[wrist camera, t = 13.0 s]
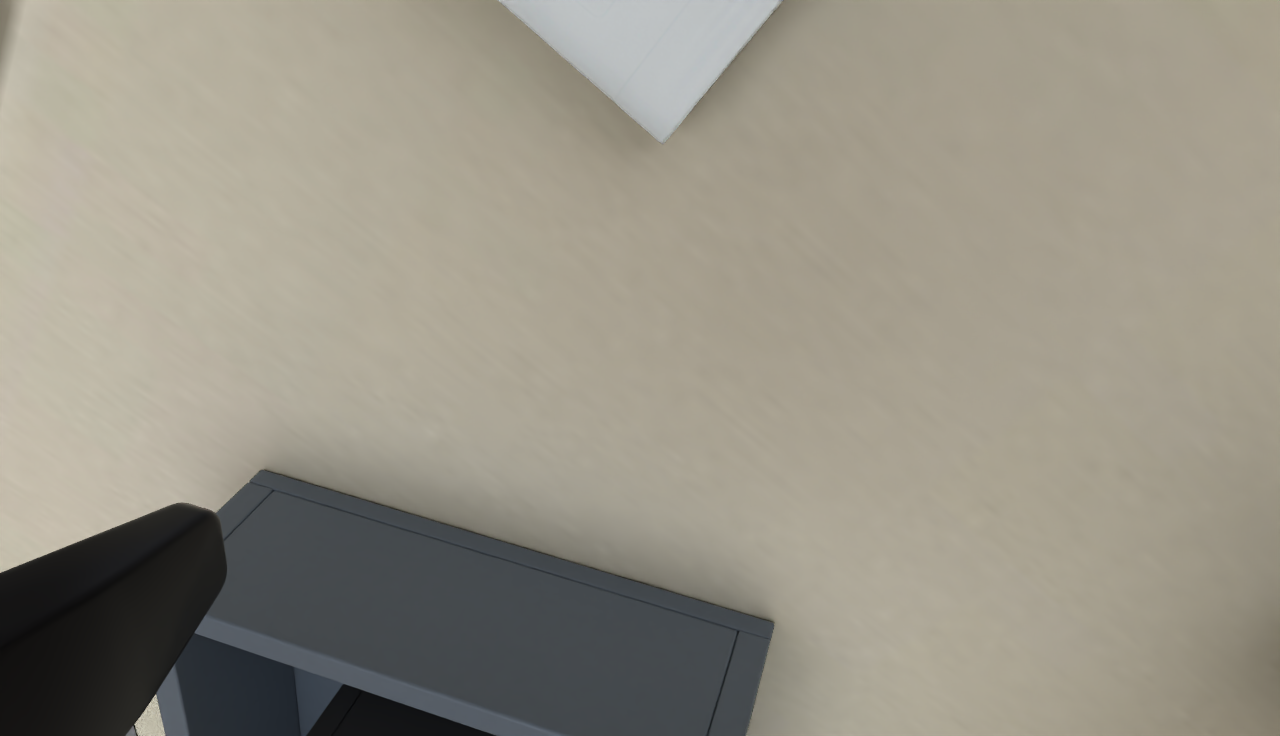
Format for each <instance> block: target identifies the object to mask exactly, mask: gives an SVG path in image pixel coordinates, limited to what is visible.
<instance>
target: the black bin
mask: <svg viewBox="0 0 1280 736" xmlns="http://www.w3.org/2000/svg"><path fill="white" fill-rule="evenodd" d="M306 736H496V735H493V734H490V733H487V732H484V731H481V730H478V729H475V728H473V727H470V726H467V725H464V724H461V723H458V722H455V721H452V720H449V719H446V718H443V717H440V716H437V715H434V714H431V713H428V712H425V711H422V710H419V709H417V708H414V707H411V706H408V705H405V704H402V703H399V702H396V701H393V700H390V699H387V698H384V697H381V696H378V695H375V694H372V693H369V692H366V691H363V690H361V689H358V688H355V687H352V686H349V685H346V684H343V685H342V686H341V687H340V689H339V690H338V692H337V693H336V694H335V696H334V697H333V699H332V700H331V701H330V703H329V704H328V706H327V707H326V708H325V710H324V711H323V713H322V714H321V716H320V717H319V718H318V720H317V721H316V723H315V724H314V725H313V727H312V728H311V730H310V731H309V732H308V734H307V735H306Z"/></svg>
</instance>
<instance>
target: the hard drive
mask: <svg viewBox="0 0 1280 736" xmlns="http://www.w3.org/2000/svg"><path fill="white" fill-rule="evenodd" d="M498 1H499V2H500V3H501V4H502V5H504V6H505V7H506V8H507V9H508V10H509V11H511V12H512V13H513V14H514V15H515V16H516V17H518V18H519V19H520V20H521V21H522V22H523V23H525V24H526V25H527V26H528V27H529V28H530V29H531V30H533V31H534V32H535V33H536V34H537V35H538V36H539V37H540V38H541V39H543V40H544V41H545V42H546V43H547V44H548V45H549V46H550V47H551V48H553V49H554V50H555V51H556V52H557V53H558V54H559V55H561V56H562V57H563V58H564V59H565V60H566V61H568V62H569V63H570V64H571V65H572V66H573V67H574V68H575V69H576V70H578V71H579V72H580V73H581V74H582V75H583V76H585V77H586V78H587V79H588V80H589V81H591V82H592V83H593V84H594V85H595V86H596V87H597V88H598V89H600V90H601V91H602V92H603V93H604V94H605V95H606V96H608V97H609V98H610V99H611V100H612V101H613V102H614V103H616V104H617V105H618V106H619V107H620V108H621V109H622V110H623V111H624V112H625V113H627V114H628V115H629V116H630V117H631V118H632V119H633V120H634V121H635V122H637V123H638V124H639V125H640V126H641V127H643V128H644V129H645V130H646V131H647V132H648V133H650V134H651V135H652V136H653V137H654V138H655V139H656V140H657V141H658V142H660V143H662V144H664V143H665V142H666V141H667V139H668V138H669V137H670V136H671V135H672V133H673V132H674V131H675V130H676V128H677V127H678V126H679V125H680V124H681V122H682V121H683V120H684V119H685V118H686V116H687V115H688V114H689V113H690V112H691V110H692V109H693V108H694V107H695V106H696V104H697V103H698V102H699V101H700V100H701V98H702V97H703V96H704V95H705V94H706V92H707V91H708V90H709V89H710V88H711V86H712V85H713V84H714V83H715V82H716V80H717V79H718V78H719V77H720V76H721V74H722V73H723V72H724V71H725V70H726V68H727V67H728V66H729V65H730V64H731V63H732V61H733V60H734V59H735V58H736V57H737V55H738V54H739V53H740V52H741V51H742V49H743V48H744V47H745V46H746V45H747V44H748V42H749V41H750V40H751V39H752V37H753V36H754V35H755V34H756V32H757V31H758V30H759V29H760V28H761V26H762V25H763V24H764V23H765V22H766V21H767V19H768V18H769V17H770V16H771V15H772V13H773V12H774V11H775V10H776V9H777V8H778V6H779V5H780V4H781V3H782V2H783V0H498Z"/></svg>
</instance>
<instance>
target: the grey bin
mask: <svg viewBox="0 0 1280 736" xmlns="http://www.w3.org/2000/svg"><path fill="white" fill-rule="evenodd" d="M216 514H217V516H218V517H219V519H220V522H221V527H222V534H223V540H224V547H225V554H226V560H227V576H226V580H225V583H224V585H223V587H222V589H221V591H220V593H219V595H218V596H217V598H216V599H215V601H214V603H213V604H212V606H211V607H210V609H209V610H208V612H207V614H206V615H205V617H204V618H203V620H202V622H201V623H200V625H199V626H198V628H197V629H196V631H195V633H194V634H193V636H192V637H191V639H190V640H189V642H188V644H187V645H186V647H185V648H184V650H183V652H182V653H181V655H180V656H179V658H178V659H177V661H176V663H175V664H174V666H173V667H172V669H171V671H170V672H169V674H168V675H167V677H166V678H165V680H164V682H163V683H162V685H161V686H160V688H159V689H158V691H157V693H156V695H157V700H158V704H159V709H160V713H161V717H162V722H163V726H164V731H165V735H166V736H306V735H307V734H308V732H309V731H310V730H311V728H312V727H313V725H314V724H315V723H316V721H317V720H318V718H319V717H320V716H321V714H322V713H323V711H324V710H325V708H326V707H327V706H328V704H329V703H330V701H331V700H332V699H333V697H334V696H335V694H336V693H337V692H338V690H339V689H340V687H341V686H342V685H343V684H346V685H349V686H352V687H355V688H358V689H361V690H363V691H366V692H369V693H372V694H375V695H378V696H381V697H384V698H387V699H390V700H393V701H396V702H399V703H402V704H405V705H408V706H411V707H414V708H417V709H419V710H422V711H425V712H428V713H431V714H434V715H437V716H440V717H443V718H446V719H449V720H452V721H455V722H458V723H461V724H464V725H467V726H470V727H473V728H475V729H478V730H481V731H484V732H487V733H490V734H493V735H496V736H746V735H747V731H748V727H749V723H750V719H751V715H752V711H753V707H754V703H755V700H756V696H757V692H758V688H759V684H760V680H761V676H762V672H763V668H764V664H765V660H766V656H767V652H768V648H769V645H770V641H771V637H772V633H773V629H774V623H772V622H769V621H766V620H763V619H759V618H756V617H753V616H749V615H746V614H743V613H739V612H736V611H733V610H729V609H726V608H723V607H719V606H716V605H713V604H709V603H706V602H703V601H699V600H696V599H693V598H689V597H686V596H683V595H679V594H676V593H673V592H669V591H666V590H663V589H659V588H656V587H653V586H649V585H646V584H642V583H639V582H636V581H632V580H629V579H626V578H622V577H619V576H616V575H612V574H609V573H606V572H602V571H599V570H596V569H592V568H589V567H586V566H582V565H579V564H576V563H572V562H569V561H566V560H562V559H559V558H556V557H552V556H549V555H546V554H542V553H539V552H536V551H532V550H529V549H526V548H522V547H519V546H516V545H512V544H509V543H506V542H502V541H499V540H496V539H492V538H489V537H485V536H482V535H479V534H475V533H472V532H469V531H465V530H462V529H459V528H455V527H452V526H449V525H445V524H442V523H439V522H435V521H432V520H429V519H425V518H422V517H419V516H415V515H412V514H409V513H405V512H402V511H399V510H395V509H392V508H389V507H385V506H382V505H379V504H375V503H372V502H369V501H365V500H362V499H359V498H355V497H352V496H349V495H345V494H342V493H339V492H335V491H332V490H328V489H325V488H322V487H318V486H315V485H312V484H308V483H305V482H302V481H298V480H295V479H292V478H288V477H285V476H282V475H278V474H275V473H272V472H268V471H265V470H260V471H259V472H258V473H257V474H256V475H255V476H254V477H253V478H252V479H251V480H250V482H249V483H247V484H246V485H245V486H244V487H243V488H242V489H241V490H240V491H238V492H237V493H236V494H235V495H234V496H233V497H232V498H231V499H230V500H229V501H228V502H227V503H226V504H225V505H224V506H223V507H222V508H221V509H220V510H219V511H218V512H217V513H216Z"/></svg>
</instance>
